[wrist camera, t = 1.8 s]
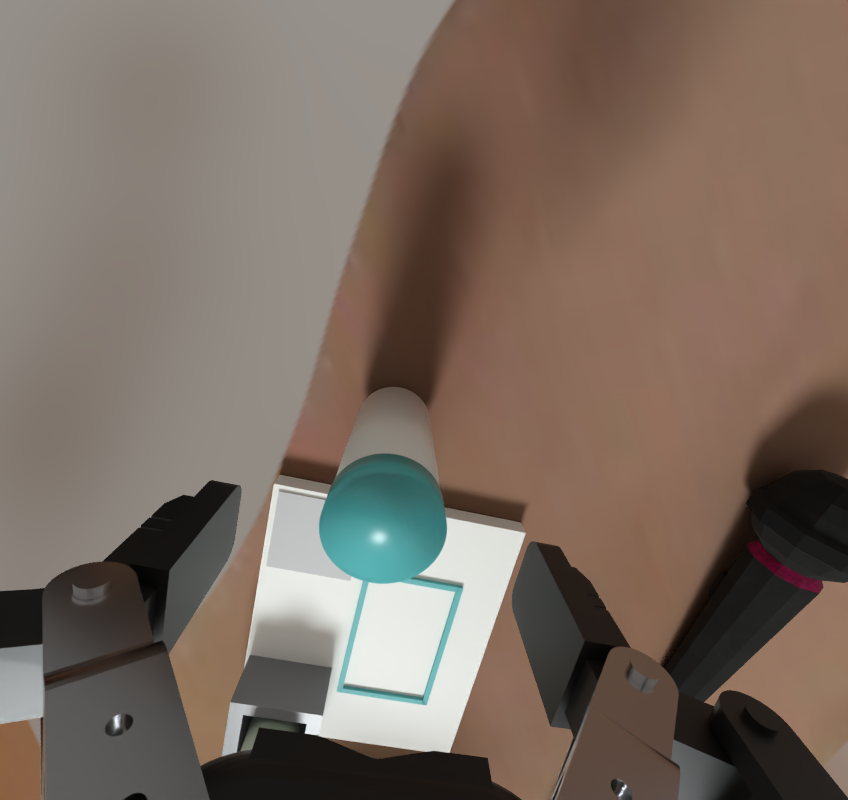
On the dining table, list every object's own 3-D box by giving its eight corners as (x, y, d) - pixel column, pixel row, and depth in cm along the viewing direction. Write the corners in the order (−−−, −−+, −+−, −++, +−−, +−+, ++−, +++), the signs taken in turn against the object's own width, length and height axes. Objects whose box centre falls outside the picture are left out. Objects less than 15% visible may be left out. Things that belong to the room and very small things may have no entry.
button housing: (249, 654, 24) (230, 702, 22) (332, 667, 25) (322, 715, 22) (239, 716, 26) (220, 768, 23) (318, 727, 26) (307, 780, 23)
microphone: (641, 683, 32) (821, 452, 24) (708, 778, 27) (959, 526, 19) (583, 692, 29) (760, 441, 22) (644, 797, 25) (898, 522, 17)
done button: (252, 706, 23) (235, 756, 20) (303, 714, 23) (291, 763, 21) (246, 743, 23) (229, 794, 21) (295, 750, 24) (283, 801, 21)
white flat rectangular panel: (279, 474, 22) (272, 485, 21) (521, 522, 24) (526, 535, 23) (240, 708, 27) (233, 728, 26) (447, 738, 28) (449, 758, 27)
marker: (366, 372, 21) (331, 459, 11) (437, 388, 22) (461, 486, 12) (352, 438, 22) (309, 571, 12) (420, 453, 22) (429, 593, 13)
